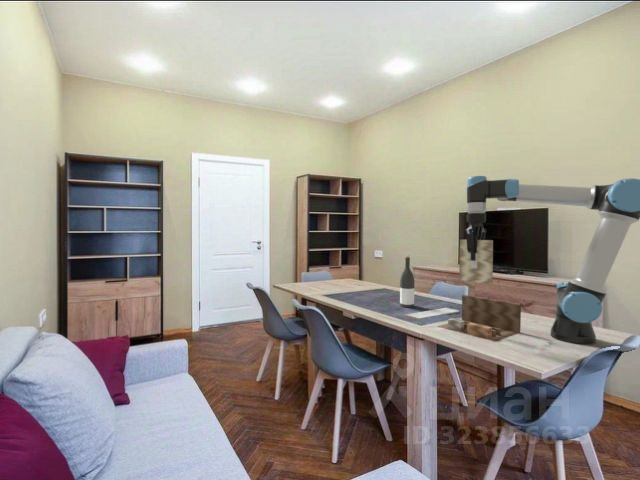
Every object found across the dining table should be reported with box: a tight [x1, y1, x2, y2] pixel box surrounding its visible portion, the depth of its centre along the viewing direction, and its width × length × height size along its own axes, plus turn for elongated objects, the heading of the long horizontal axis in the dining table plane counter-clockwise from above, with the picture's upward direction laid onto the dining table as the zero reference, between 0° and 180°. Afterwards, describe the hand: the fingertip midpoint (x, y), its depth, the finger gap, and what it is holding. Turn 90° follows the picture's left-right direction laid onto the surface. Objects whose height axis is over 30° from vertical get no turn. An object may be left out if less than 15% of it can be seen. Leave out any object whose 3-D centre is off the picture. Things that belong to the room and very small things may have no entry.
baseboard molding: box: [403, 306, 461, 320], centre depth 184 cm, size 31×3×12 cm
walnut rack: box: [437, 294, 522, 343], centre depth 150 cm, size 26×21×14 cm
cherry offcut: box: [467, 323, 492, 339], centre depth 141 cm, size 9×3×4 cm, turn 36°
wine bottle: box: [399, 254, 415, 308], centre depth 202 cm, size 8×8×30 cm
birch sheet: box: [458, 239, 494, 285], centre depth 148 cm, size 14×2×18 cm, turn 36°
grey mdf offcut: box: [447, 317, 464, 331], centre depth 150 cm, size 6×3×4 cm, turn 36°
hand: (475, 268), depth 148 cm, fingers closed on birch sheet, 2 cm apart
